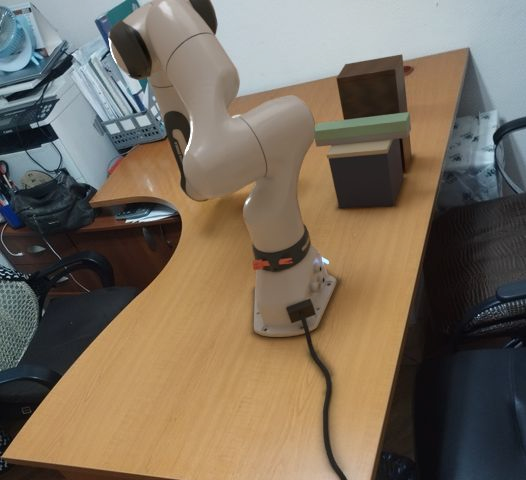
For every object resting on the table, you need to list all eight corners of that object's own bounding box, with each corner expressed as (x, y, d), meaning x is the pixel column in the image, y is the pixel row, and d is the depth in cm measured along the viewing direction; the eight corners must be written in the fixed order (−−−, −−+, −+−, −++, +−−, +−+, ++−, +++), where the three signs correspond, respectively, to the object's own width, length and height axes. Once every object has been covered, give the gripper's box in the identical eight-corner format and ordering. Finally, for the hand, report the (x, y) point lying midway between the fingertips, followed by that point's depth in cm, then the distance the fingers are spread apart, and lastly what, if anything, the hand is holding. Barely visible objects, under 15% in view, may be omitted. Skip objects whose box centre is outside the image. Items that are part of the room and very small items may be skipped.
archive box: (338, 208, 131) (326, 154, 121) (350, 181, 138) (340, 128, 128) (394, 206, 125) (386, 149, 114) (404, 178, 132) (398, 122, 121)
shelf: (354, 176, 140) (336, 78, 122) (361, 160, 144) (345, 64, 126) (405, 172, 133) (395, 68, 115) (411, 156, 138) (402, 54, 120)
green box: (316, 147, 125) (312, 131, 122) (321, 138, 127) (317, 123, 124) (407, 137, 115) (406, 120, 112) (411, 128, 117) (409, 111, 114)
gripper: (225, 171, 130) (259, 142, 120) (255, 132, 142) (288, 102, 132) (242, 190, 132) (277, 163, 122) (270, 149, 144) (304, 121, 134)
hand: (283, 131), depth 127 cm, fingers open, 8 cm apart
